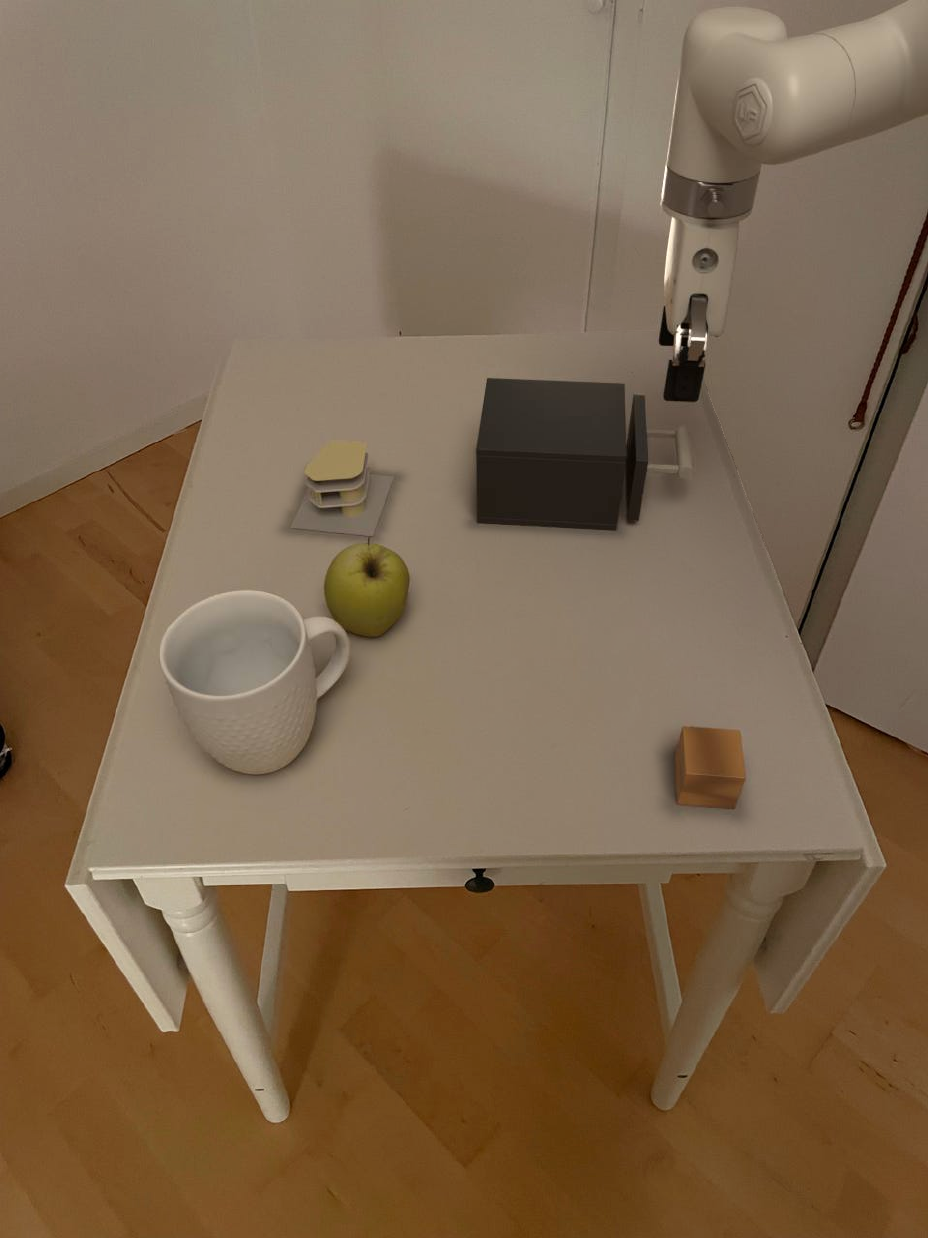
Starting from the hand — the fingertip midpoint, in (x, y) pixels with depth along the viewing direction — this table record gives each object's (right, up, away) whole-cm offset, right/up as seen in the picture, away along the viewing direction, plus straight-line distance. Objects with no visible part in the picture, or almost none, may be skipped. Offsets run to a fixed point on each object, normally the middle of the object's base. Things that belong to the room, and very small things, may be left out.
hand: (677, 371), depth 88 cm
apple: (-29, -24, -1) cm, 38 cm away
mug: (-37, -34, -9) cm, 51 cm away
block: (-1, -37, -14) cm, 40 cm away
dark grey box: (-11, -10, +12) cm, 19 cm away
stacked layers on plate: (-34, -11, +11) cm, 37 cm away
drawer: (-6, -9, +11) cm, 16 cm away
